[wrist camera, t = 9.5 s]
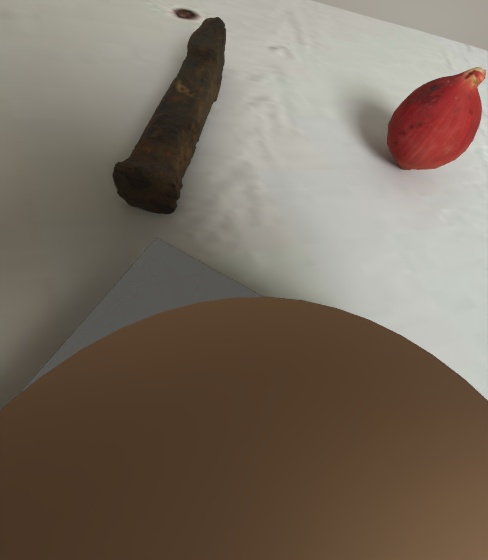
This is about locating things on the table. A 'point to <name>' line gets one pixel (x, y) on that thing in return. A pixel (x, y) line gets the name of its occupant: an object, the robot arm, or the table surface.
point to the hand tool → (175, 126)
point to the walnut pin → (246, 444)
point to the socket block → (149, 296)
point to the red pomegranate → (436, 121)
